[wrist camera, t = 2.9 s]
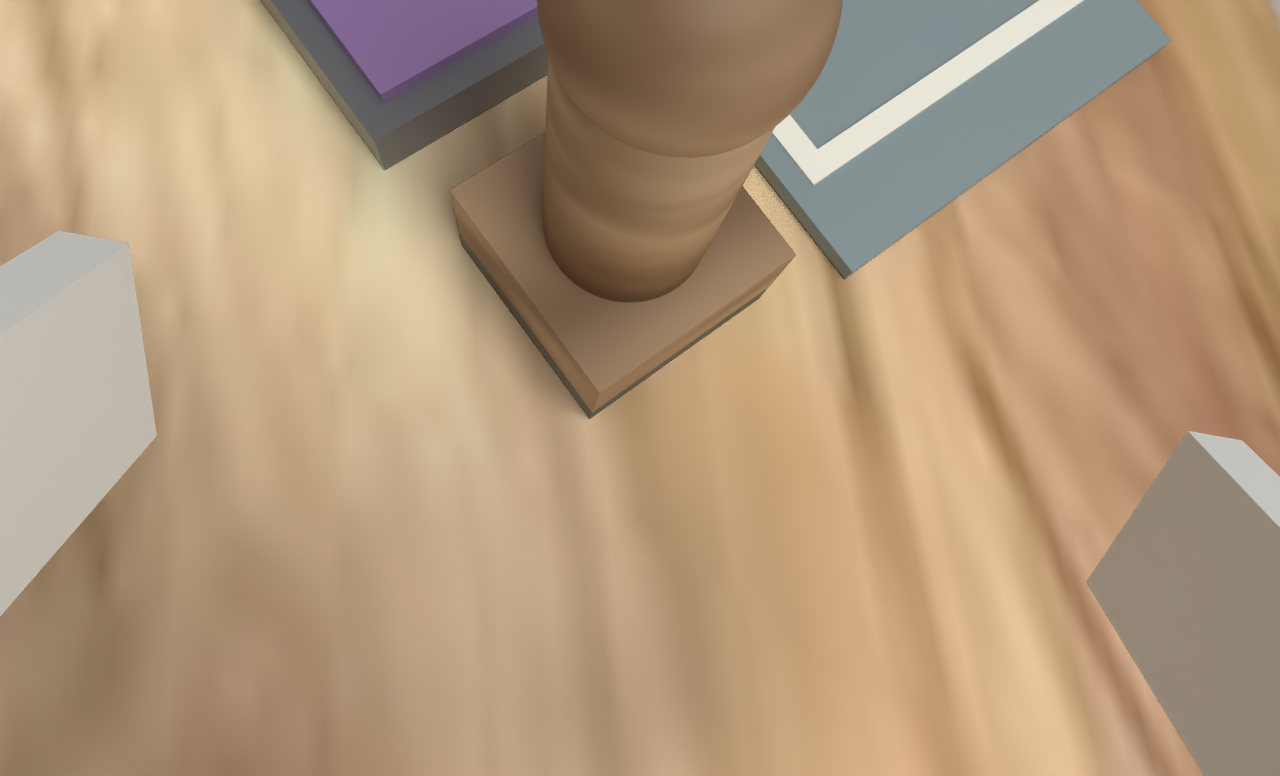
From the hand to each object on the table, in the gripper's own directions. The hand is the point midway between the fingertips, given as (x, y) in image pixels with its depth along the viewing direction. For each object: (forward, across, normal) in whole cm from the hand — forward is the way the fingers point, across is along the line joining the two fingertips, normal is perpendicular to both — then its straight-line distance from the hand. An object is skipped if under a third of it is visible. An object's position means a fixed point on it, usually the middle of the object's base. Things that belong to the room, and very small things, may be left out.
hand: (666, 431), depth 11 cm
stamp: (+13, -1, -4) cm, 13 cm away
